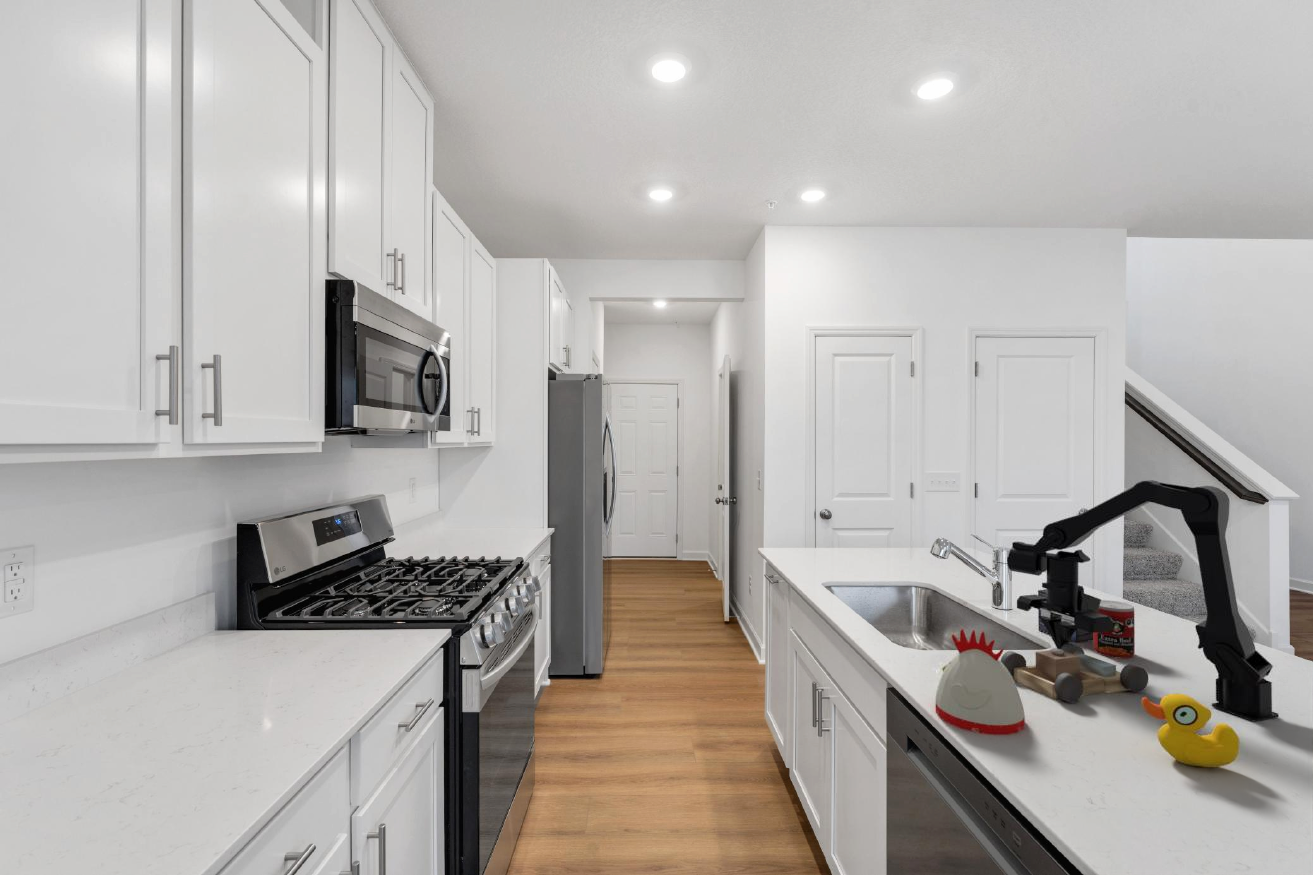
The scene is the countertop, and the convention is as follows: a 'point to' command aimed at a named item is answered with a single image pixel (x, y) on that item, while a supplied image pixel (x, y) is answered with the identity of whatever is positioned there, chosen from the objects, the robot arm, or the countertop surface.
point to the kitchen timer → (979, 690)
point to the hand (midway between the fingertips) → (1061, 652)
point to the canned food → (1116, 631)
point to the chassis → (1071, 688)
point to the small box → (1078, 634)
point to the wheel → (1072, 648)
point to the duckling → (1192, 732)
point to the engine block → (1056, 664)
